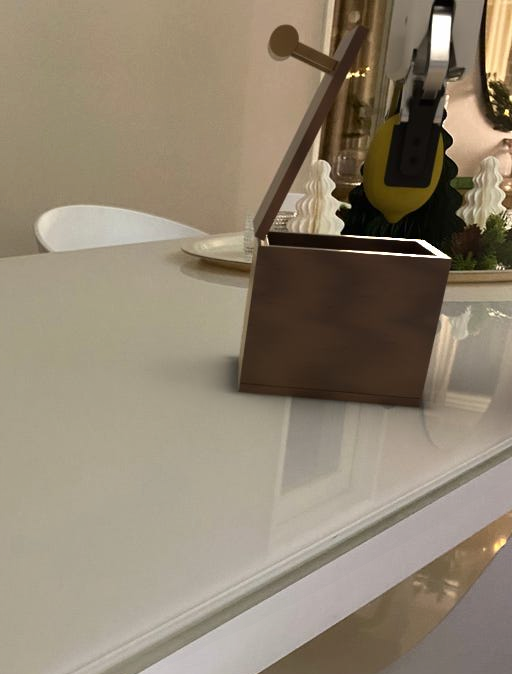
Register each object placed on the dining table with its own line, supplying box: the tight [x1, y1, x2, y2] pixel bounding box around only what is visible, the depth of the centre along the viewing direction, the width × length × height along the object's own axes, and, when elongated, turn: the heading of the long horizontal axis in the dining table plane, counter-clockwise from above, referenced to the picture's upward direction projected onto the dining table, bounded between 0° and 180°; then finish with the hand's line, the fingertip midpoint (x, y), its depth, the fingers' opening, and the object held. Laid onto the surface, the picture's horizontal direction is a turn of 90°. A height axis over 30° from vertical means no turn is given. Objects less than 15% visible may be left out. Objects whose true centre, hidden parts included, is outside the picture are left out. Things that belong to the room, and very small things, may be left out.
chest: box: [237, 229, 453, 409], centre depth 83 cm, size 14×13×11 cm
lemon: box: [362, 113, 444, 224], centre depth 77 cm, size 6×6×8 cm
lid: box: [252, 23, 370, 241], centre depth 78 cm, size 14×13×6 cm
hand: (400, 181), depth 78 cm, fingers closed on lemon, 5 cm apart
